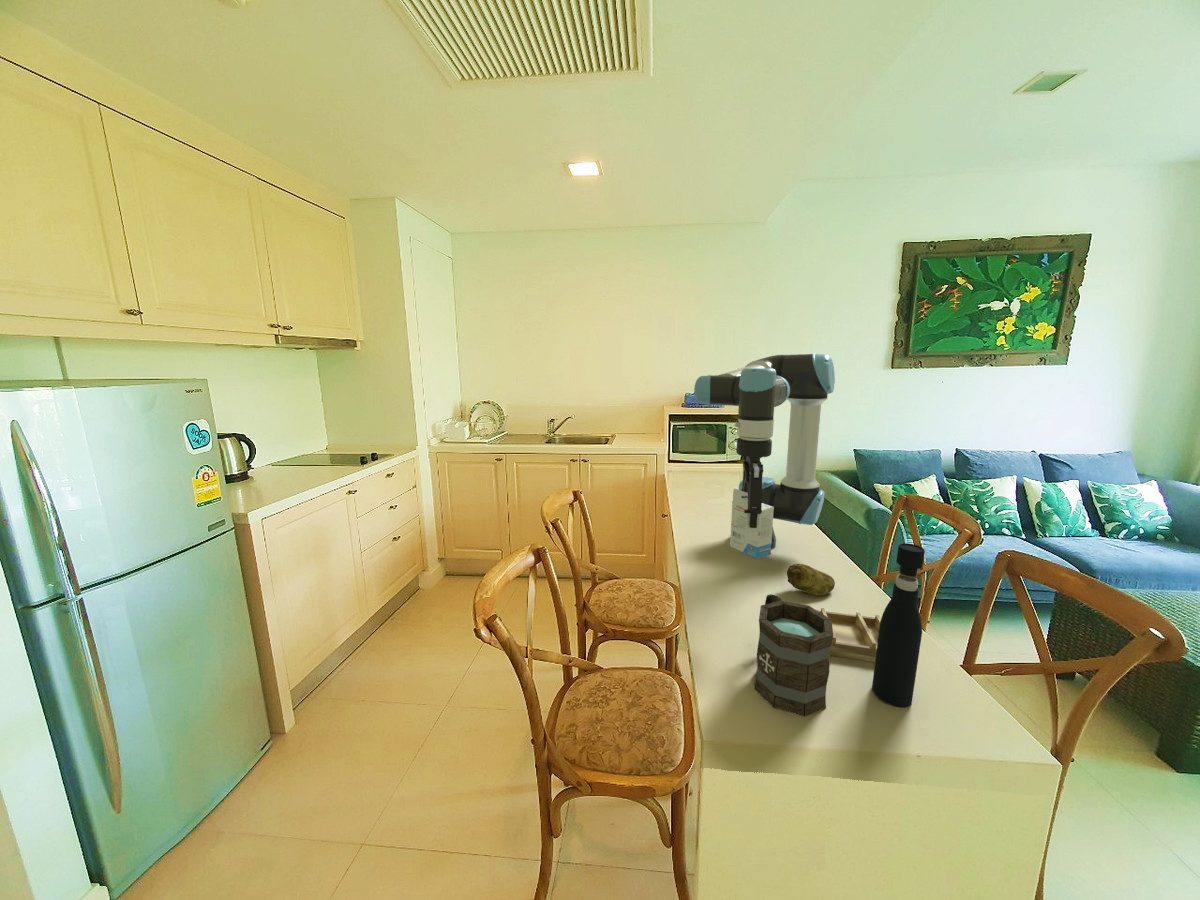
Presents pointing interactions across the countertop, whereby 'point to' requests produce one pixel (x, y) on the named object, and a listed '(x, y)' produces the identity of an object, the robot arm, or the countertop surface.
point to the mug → (793, 656)
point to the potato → (809, 579)
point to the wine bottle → (900, 633)
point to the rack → (854, 635)
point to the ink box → (739, 527)
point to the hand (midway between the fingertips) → (749, 531)
